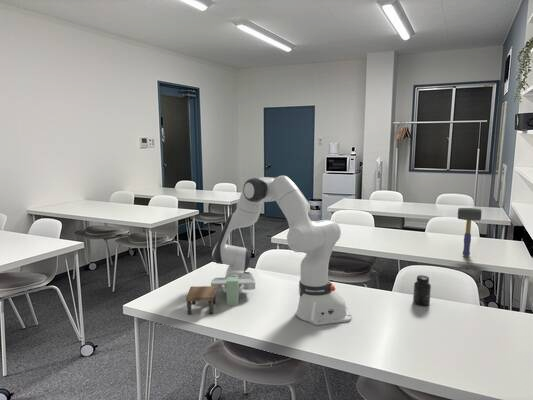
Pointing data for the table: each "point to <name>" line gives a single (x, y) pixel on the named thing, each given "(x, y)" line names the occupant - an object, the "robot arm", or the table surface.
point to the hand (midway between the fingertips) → (232, 290)
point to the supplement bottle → (422, 291)
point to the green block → (232, 291)
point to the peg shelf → (201, 296)
